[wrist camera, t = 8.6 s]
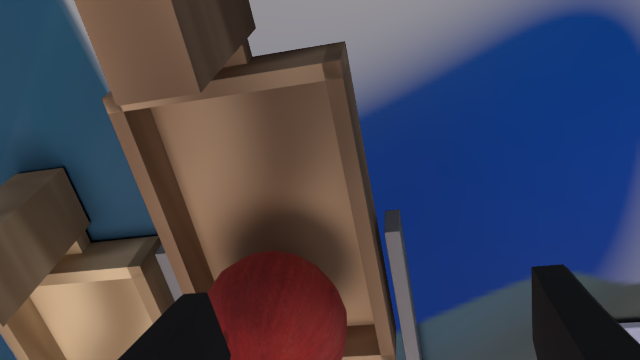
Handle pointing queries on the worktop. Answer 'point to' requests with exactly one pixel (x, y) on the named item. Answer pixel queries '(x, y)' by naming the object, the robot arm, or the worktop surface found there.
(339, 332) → the onion
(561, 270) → the robot arm
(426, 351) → the worktop surface
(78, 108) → the worktop surface
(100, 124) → the worktop surface
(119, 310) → the oak tray
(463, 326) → the worktop surface
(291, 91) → the walnut tray
